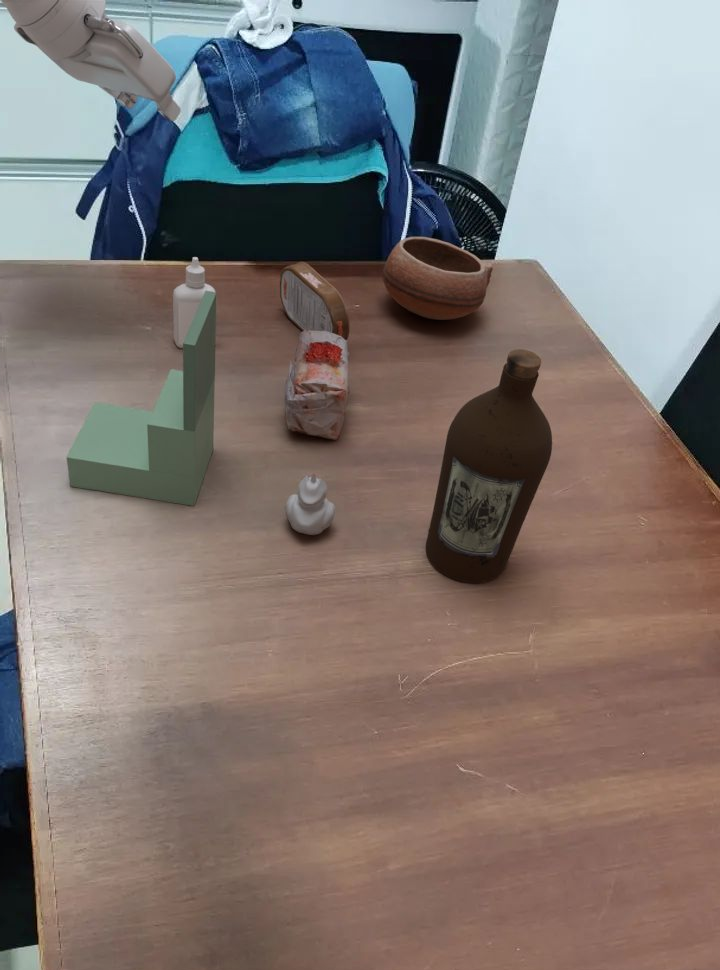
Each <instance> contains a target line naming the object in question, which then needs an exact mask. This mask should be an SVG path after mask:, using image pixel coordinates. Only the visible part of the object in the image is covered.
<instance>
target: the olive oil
mask: <svg viewBox="0 0 720 970" xmlns="http://www.w3.org/2000/svg"><path fill="white" fill-rule="evenodd" d="M541 365H542V359H541V357H540V356H539V355H538V354H537V353H535V352H533V351H530V350H528V349H521V348H517V349H516V348H515V349H512V350H510V351H509V352H508V354H507V357H506V363H504V365H503V368H502V371H501V375H500V381H499V384H498V385H497V386H496V387H493V388H492V389H489V390H488V391H485V392H483V393H481V394H479V395H477V396H475V397H473V398H472V399H470V400H468V401H467V402H466V403H464V405H462V407H461V408H460V409H459V410H458V411H457V413H456V415H455V416H454V418H453V420H452V421H451V423H450V425H449V427H448V431H447V433H446V438H445V444H444V451H443V456H442V462H441V467H440V473H439V479H438V483H437V489H436V494H435V498H434V505H433V510H432V513H431V518H430V524H429V527H428V533H427V537H426V542H425V553H426V556H427V559H428V561H429V562H430V564H431V565H432V566H433V567H434V568H435V569H436V570H437V571H438V572H439V573H441V574H443V575H444V576H446V577H448V578H450V579H453V580H455V581H459V582H463V583H469V584H480V583H486V582H490V581H493V580H495V579H497V578H498V577H499V576H501V575H502V574H503V572H504V571H505V570H506V567H507V565H508V562H509V560H510V558H511V555H512V553H513V550H514V548H515V546H516V542H517V539H518V538H519V534H520V533H521V529H522V527H523V525H524V522H525V521H526V518H527V515H528V512H529V511H530V508H531V505H532V503H533V501H534V499H535V496H536V494H537V492H538V489H539V486H540V484H541V482H542V480H543V477H544V475H545V472H546V470H547V468H548V465H549V463H550V460H551V457H552V451H553V433H552V428H551V425H550V423H549V420H548V418H547V416H546V415H545V413H544V412H543V411H542V409H541V407H540V405H539V404H538V402H537V401H536V399H535V398H534V396H533V392H534V390H535V387H536V385H537V382H538V378H539V376H540V374H539V370H540V368H541Z"/></svg>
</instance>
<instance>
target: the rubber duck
mask: <svg viewBox="0 0 720 970" xmlns="http://www.w3.org/2000/svg"><path fill="white" fill-rule="evenodd" d="M297 488H298V489H297V494H296V493H294V494H291V495H289V497H288V499H287V502H286V503H285V515H286V518H287V520H288V521H289V523H290V527H291V528H292V529H293V530H294V531H295V532H297V533H301V534H303V535H308V536H315V535H319V534H321V533H322V532H323V531H324V530H326V529H327V528H329V527H330V526H331V525H332V523H333V520H334V517H335V514H336V507H335V505H334V503H332V501H329V500H328V499H327V498H326V497H327V491H328V486H327V484H326V482H325V481H324V480H323V479H322V478H321V477H320V478H318V477H316V474H315V472H313V473H312V474H311V476H309V475H307V474H306V475H305V476H304V477H303V478H302V479H301V480H300V481H299V484H298V487H297Z"/></svg>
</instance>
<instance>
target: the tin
mask: <svg viewBox="0 0 720 970" xmlns="http://www.w3.org/2000/svg"><path fill="white" fill-rule="evenodd" d="M279 297H280V302H281V304H282V307H283V310H284V312H285V314H286V316H287V318H289V320H290V321H291V322H292V323H293V324H294V325H295V326H296V327H297V328H298V329H299V330H300V331H301V332H303V331H306V330H311V331H327V332H330V333H333V334H337V335H339V336H341V337H342V338H344V339H345V340H347V341H348V339H349V336H350V328H351V327H350V325H351V324H350V316H349V311H348V307H347V305H346V303H345V300H344V298H343V297H342V295H341V293H340V292H339V291H338V289H336V288H335V286H333V285H332V284H331V283H330V282H329V281H328V280H327V279H325V278H324V277H323V276H321V275H320V274H319V273H318V272H317V271H316V270H315V269H314V268H313V267H312V266H311V265H309V264H308V263H307V262H304V261H299V262H296V263H294V264H289V265H287V266H284V268H282V270H281V272H280V276H279Z"/></svg>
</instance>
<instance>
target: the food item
mask: <svg viewBox="0 0 720 970" xmlns="http://www.w3.org/2000/svg"><path fill="white" fill-rule="evenodd" d="M348 343H349V342H348V339H347V340H345V339H344V338H342V337H341V336H339V335H337V334H333V333H330V332H327V331H311V330H306V331H301V332H300V334H299V337H298V343H297V346H296V350H295V353H294V355H295V356H294V362H293V364H292V360H290V362H289V369H288V373H287V377H286V378H287V379H286V380H285V394H284V403H285V404H284V407H285V411H284V412H285V420H286V426H287V428H288V431H290V430H291V431H292V432H298V433H300V434H304V435H308V436H312V437H316V438H317V437H318V438H322V439H323V438H324V439H327V440H336V441H337V439H338V438H339V437H340V434H341V431H342V428H343V426H344V421H345V417H346V411H347V405H348V404H347V403H348V395H350V390H349V381H350V380H349V379H350V373H349V371H350V370H349V361H350V352H349V348H348Z"/></svg>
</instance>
